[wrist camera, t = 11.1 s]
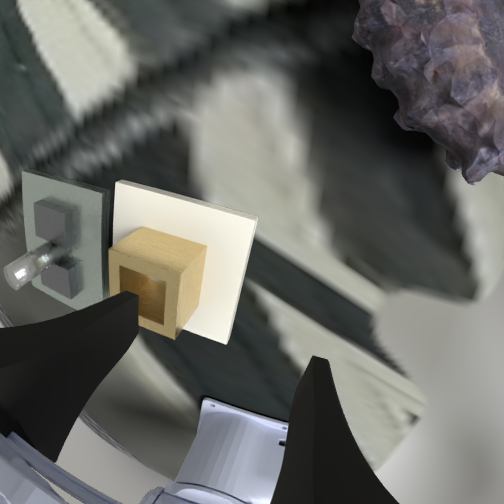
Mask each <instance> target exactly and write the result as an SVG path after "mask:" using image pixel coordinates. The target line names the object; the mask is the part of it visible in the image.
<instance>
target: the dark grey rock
mask: <svg viewBox="0 0 504 504" xmlns="http://www.w3.org/2000/svg"><path fill="white" fill-rule="evenodd" d="M359 3H360V9H359V12H358V15H357V18H356V20H355V23H354V32H353V35H352V38H353V39H354V40H355V41H356V42H357V43H358V44H359V45H361V46H362V47H363V48H365V49H367V50H370V51H372V53H373V57H374V62H373V66H372V74H371V77H372V78H373V80H374V81H375V82H376V84H377V85H378V86H379V87H380V88H382V89H388V90H391V91H392V92H393V93H394V95H395V96H396V97H397V98H398V102H399V108H398V110H397V111H396V113H395V115H394V119H395V120H396V122H397V123H398V124H399V125H400V126H401V128H402V129H404V130H406V131H419V132H424V133H427V134H428V135H429V136H430V137H431V138H432V140H433V141H434V142H435V143H437V144H438V145H440V146H442V147H444V148H445V149H446V162H447V163H448V164H449V166H450V167H451V168H453V169H454V170H456V171H462V175H463V177H464V179H465V180H466V181H467V183H468V184H471V185H476V183H477V182H478V181H481V180H482V179H483V178H484V177H485V175H486V174H487V173H489V172H494V173H496V174H499V175H502V176H504V0H359Z"/></svg>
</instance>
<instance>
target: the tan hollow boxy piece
mask: <svg viewBox="0 0 504 504" xmlns="http://www.w3.org/2000/svg"><path fill="white" fill-rule="evenodd" d="M206 252H207V246H206V245H203V244H200V243H196V242H193V241H190V240H186V239H183V238H180V237H177V236H173V235H170V234H167V233H164V232H160V231H157V230H154V229H150V228H147V227H144V226H143V227H141V228H140V229H138V230H136V231H135V232H133V233H132V234H130V235H129V236H127V237H126V238H124V239H123V240H121V241H120V242H118V243H117V244H115V245H114V246H112V247H111V248H109V285H110V297H111V296H114V295H116V294H119V293H121V292H124V291H126V290H127V291H129V292H132V293H134V294H137V295H139V325H140V326H142V327H145V328H147V329H149V330H152V331H154V332H157V333H159V334H162V335H164V336H167V337H169V338H172V339H174V340H175V339H176V337H177V336H178V334H179V333H180V332H181V330H182V329H183V327H184V326H185V324H186V323H187V322H188V320H189V319H190V317H191V316H192V314H193V313H194V312H195V310H196V309H197V307H198V306H199V299H200V292H201V285H202V278H203V271H204V265H205V258H206ZM150 276H151V277H153V278H156V279H159V280H162V281H165V282H166V285H165V284H162V283H159V282H156V281H154V280H151V279H150Z"/></svg>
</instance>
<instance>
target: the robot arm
mask: <svg viewBox="0 0 504 504" xmlns="http://www.w3.org/2000/svg"><path fill="white" fill-rule="evenodd" d="M138 333H139V295H137V294H134V293H132V292H129V291H127V290H126V291H124V292H121V293H119V294H116V295H114V296H111V297H109V298H107V299H105V300H102V301H100V302H98V303H95V304H93V305H90V306H88V307H86V308H83V309H80V310H78V311H75V312H72V313H70V314H67V315H64V316H61V317H58V318H55V319H51V320H47V321H43V322H39V323H34V324H28V325H23V326H16V327H7V328H0V504H69V503H67V502H66V501H65V500H64V499H63V498H62V497H61V496H60V495H59V494H57V493H56V492H55V491H54V490H53V489H52V487H51V486H50V485H49V483H48V482H47V481H46V480H45V479H43V478H42V477H41V476H40V475H39V474H41V475H42V476H44V477H45V478H46V479H48V480H49V481H50V482H52V483H53V484H55V485H56V486H58V487H59V488H61V489H62V490H64V491H65V492H67V493H68V494H70V495H71V496H73V497H74V498H76V499H78V500H79V501H81V502H82V503H84V504H122V503H120V502H118V501H116V500H114V499H112V498H110V497H108V496H107V495H105V494H103V493H101V492H100V491H98V490H96V489H94V488H93V487H91V486H89V485H87V484H86V483H84V482H83V481H81V480H79V479H78V478H76V477H75V476H73V475H71V474H70V473H68V472H67V471H65V470H64V469H62V468H61V467H59V466H58V465H56V464H55V462H56V461H57V459H58V456H59V453H60V452H61V449H62V447H63V445H64V442H65V440H66V438H67V436H68V435H69V432H70V431H71V429H72V427H73V425H74V423H75V421H76V419H77V418H78V416H79V414H80V413H81V411H82V409H83V407H84V406H85V404H86V403H87V401H88V399H89V398H90V396H91V395H92V393H93V392H94V390H95V389H96V388H97V386H98V385H99V384H100V383H101V381H102V380H103V379H104V378H105V377H106V375H107V374H108V373H109V372H110V371H111V370H112V368H113V367H114V366H115V365H116V364H117V362H118V361H119V360H120V359H121V358H122V356H123V355H124V354H125V353H126V352H127V350H128V349H129V347H130V346H131V344H132V342H133V341H134V339H135V338H136V336H137V334H138ZM31 467H32V468H33V469H34V470H35V471H37V472H38V473H39V474H37V473H36V472H35V471H34V470H33V469H32V468H31ZM139 504H399V503H398V502H397V501H396V500H395V499H394V497H393V496H392V495H391V494H390V493H389V492H388V491H387V489H386V488H385V487H384V486H383V484H382V483H381V482H380V481H379V479H378V478H377V476H376V475H375V474H374V472H373V470H372V469H371V467H370V466H369V464H368V463H367V461H366V459H365V458H364V456H363V454H362V453H361V451H360V449H359V447H358V445H357V443H356V441H355V439H354V437H353V435H352V433H351V430H350V428H349V426H348V423H347V421H346V418H345V415H344V413H343V410H342V407H341V404H340V401H339V398H338V395H337V391H336V388H335V384H334V381H333V377H332V373H331V368H330V364H329V361H328V360H327V359H324V358H320V357H317V356H312V358H311V360H310V362H309V364H308V366H307V368H306V370H305V372H304V374H303V376H302V378H301V380H300V382H299V384H298V386H297V388H296V392H295V396H294V399H293V403H292V407H291V411H290V417H289V423H286V422H282V421H279V420H275V419H272V418H268V417H265V416H262V415H258V414H255V413H252V412H249V411H245V410H242V409H239V408H236V407H233V406H230V405H227V404H225V403H222V402H219V401H216V400H213V399H211V398H204V400H203V402H202V408H201V413H200V418H199V424H198V429H197V435H196V437H195V439H194V441H193V443H192V446H191V448H190V450H189V452H188V454H187V456H186V458H185V460H184V462H183V465H182V467H181V469H180V471H179V473H178V475H177V477H176V479H175V481H174V482H172V481H168V484H167V485H166V487H165V488H163V487H157V488H155V489H153V490H150V491H149V492H148V493H147V494H146V495H145V496H144V497H143V499H142V500H141V502H140V503H139Z"/></svg>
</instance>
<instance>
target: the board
mask: <svg viewBox="0 0 504 504" xmlns="http://www.w3.org/2000/svg"><path fill="white" fill-rule="evenodd" d="M257 221H258V217H257V216H254V215H251V214H247V213H244V212H240V211H237V210H233V209H230V208H226V207H223V206H219V205H216V204H212V203H208V202H205V201H201V200H198V199H194V198H190V197H187V196H183V195H179V194H176V193H172V192H168V191H164V190H161V189H157V188H153V187H149V186H145V185H141V184H138V183H134V182H130V181H126V180H120V181H117V182H116V184H115V200H114V220H113V246H114V245H115V244H117V243H118V242H120V241H121V240H123V239H124V238H126V237H127V236H129V235H130V234H132V233H133V232H135V231H136V230H138V229H140V228H141V227H143V226H144V227H147V228H150V229H154V230H157V231H160V232H164V233H167V234H170V235H173V236H177V237H180V238H183V239H186V240H190V241H193V242H196V243H200V244H203V245H206V246H207V252H206V258H205V265H204V271H203V278H202V285H201V292H200V299H199V306H198V307H197V309H196V310H195V312H194V313H193V314H192V316H191V317H190V319H189V320H188V322H187V323H186V324H185V326H184V327H183V329H185V330H188V331H190V332H193V333H196V334H198V335H201V336H204V337H206V338H209V339H212V340H215V341H218V342H220V343H223V344H227V342H228V340H229V338H230V334H231V330H232V326H233V321H234V317H235V313H236V309H237V305H238V301H239V296H240V292H241V288H242V284H243V280H244V275H245V271H246V267H247V263H248V259H249V254H250V250H251V246H252V242H253V238H254V234H255V229H256V225H257ZM150 279H151V280H154V281H156V282H159V283H162V284H165V285H166V282H165V281H162V280H159V279H156V278H153V277H151V276H150Z"/></svg>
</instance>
